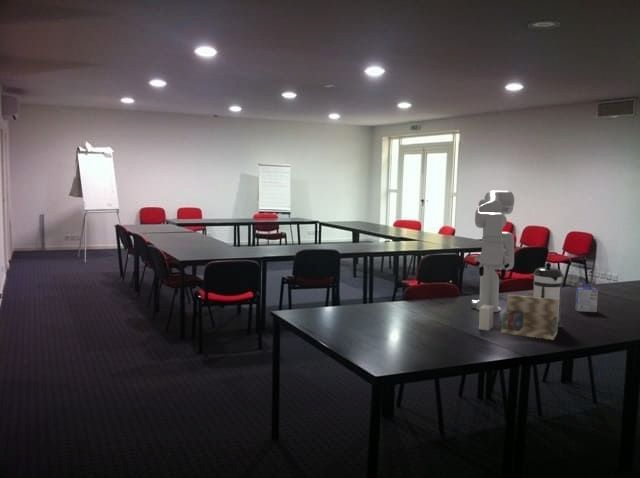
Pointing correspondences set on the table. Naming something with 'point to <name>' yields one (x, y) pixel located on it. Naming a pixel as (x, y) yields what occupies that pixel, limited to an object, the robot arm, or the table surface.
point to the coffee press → (548, 284)
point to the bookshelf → (531, 317)
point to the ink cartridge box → (586, 299)
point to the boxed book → (486, 317)
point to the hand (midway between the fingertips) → (492, 276)
